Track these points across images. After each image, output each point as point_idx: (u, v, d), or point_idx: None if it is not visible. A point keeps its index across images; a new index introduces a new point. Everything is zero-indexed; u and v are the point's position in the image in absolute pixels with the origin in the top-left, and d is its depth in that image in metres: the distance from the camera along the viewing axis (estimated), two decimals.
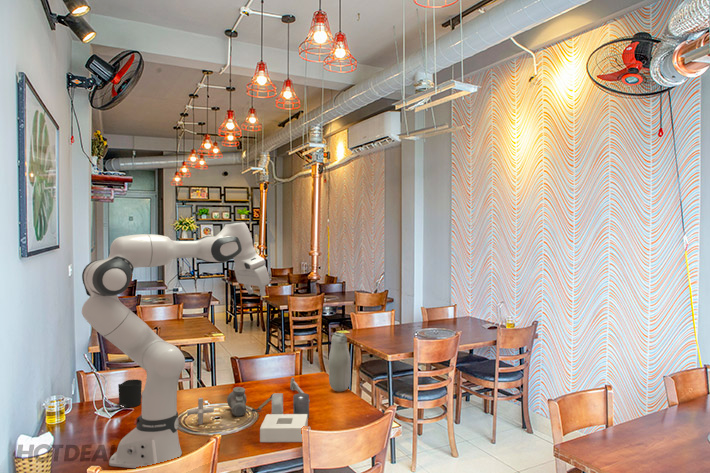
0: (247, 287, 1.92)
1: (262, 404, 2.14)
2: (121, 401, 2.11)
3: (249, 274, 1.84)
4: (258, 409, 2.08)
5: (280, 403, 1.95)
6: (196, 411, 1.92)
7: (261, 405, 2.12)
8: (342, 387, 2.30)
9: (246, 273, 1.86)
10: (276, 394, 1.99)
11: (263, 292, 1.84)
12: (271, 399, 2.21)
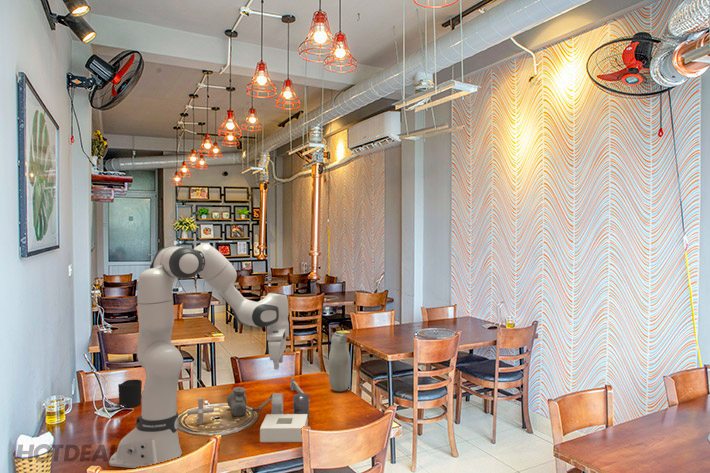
0: None
1: (262, 404, 2.14)
2: (121, 401, 2.11)
3: None
4: (258, 409, 2.09)
5: (280, 403, 1.95)
6: (196, 411, 1.92)
7: (261, 405, 2.13)
8: (342, 387, 2.30)
9: None
10: (276, 394, 1.99)
11: (276, 366, 1.91)
12: (271, 399, 2.22)
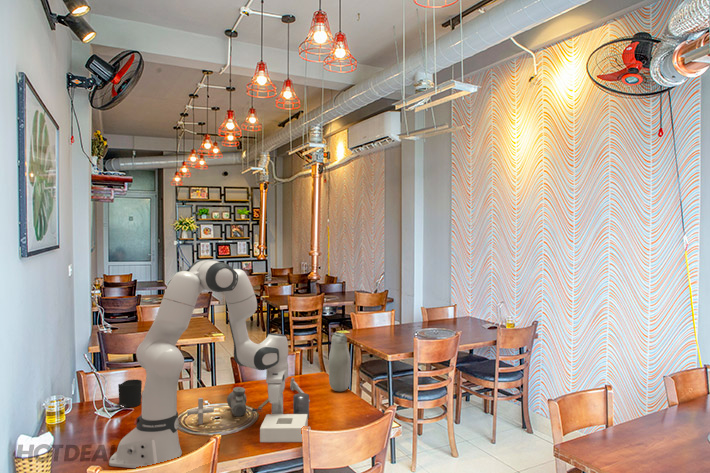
0: None
1: (262, 404, 2.14)
2: (121, 401, 2.11)
3: None
4: (258, 409, 2.09)
5: (280, 403, 1.95)
6: (196, 411, 1.92)
7: (261, 405, 2.13)
8: (342, 387, 2.30)
9: None
10: None
11: (276, 406, 1.94)
12: None
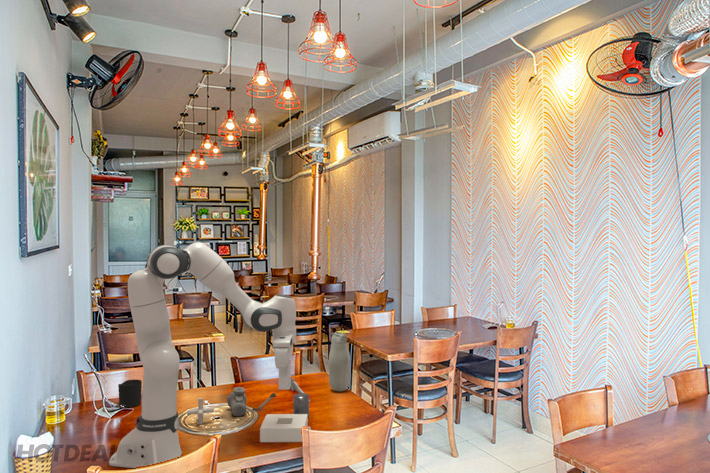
0: None
1: (262, 403, 2.15)
2: (121, 401, 2.11)
3: None
4: (259, 408, 2.09)
5: (288, 370, 1.80)
6: (196, 411, 1.92)
7: (261, 404, 2.13)
8: (342, 387, 2.30)
9: None
10: None
11: (283, 373, 1.79)
12: (271, 398, 2.22)
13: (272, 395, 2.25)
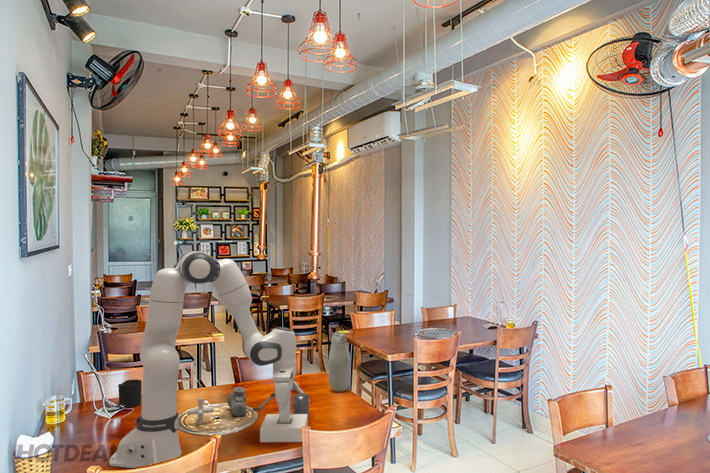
0: None
1: (262, 403, 2.15)
2: (121, 401, 2.11)
3: None
4: (259, 408, 2.09)
5: (288, 403, 1.81)
6: (196, 411, 1.92)
7: (261, 404, 2.13)
8: (342, 387, 2.30)
9: None
10: None
11: (283, 406, 1.79)
12: (271, 398, 2.22)
13: (272, 395, 2.26)
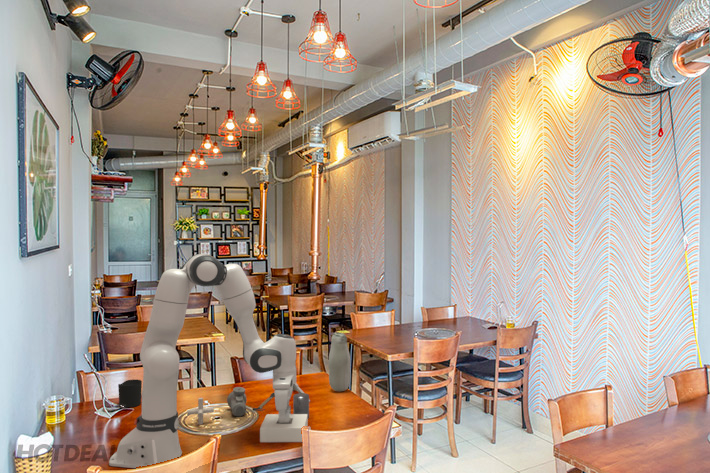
0: None
1: (263, 403, 2.15)
2: (121, 401, 2.11)
3: None
4: (259, 408, 2.10)
5: (288, 417, 1.80)
6: (196, 411, 1.92)
7: (262, 404, 2.14)
8: (342, 387, 2.30)
9: None
10: None
11: (282, 415, 1.77)
12: (271, 398, 2.23)
13: (272, 395, 2.26)
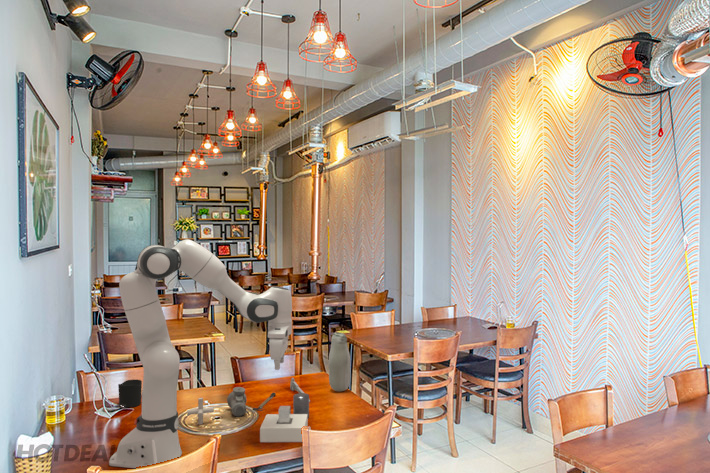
0: None
1: (263, 403, 2.15)
2: (121, 401, 2.11)
3: None
4: (259, 408, 2.10)
5: (288, 417, 1.80)
6: (196, 411, 1.92)
7: (262, 404, 2.14)
8: (342, 387, 2.30)
9: None
10: (284, 406, 1.84)
11: (277, 366, 1.77)
12: (271, 398, 2.23)
13: (272, 395, 2.26)
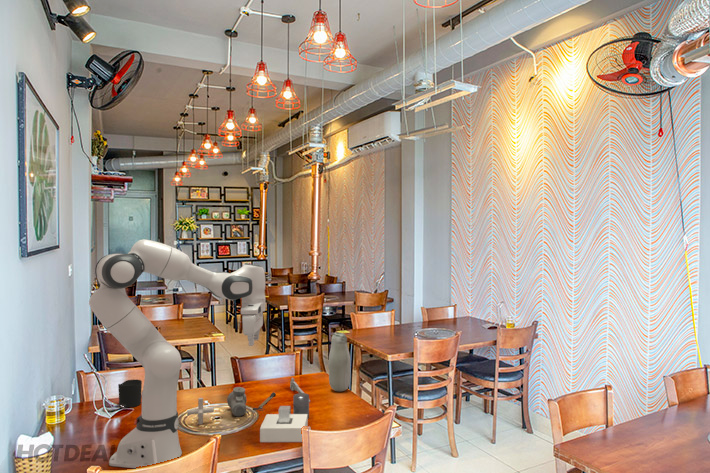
0: (255, 332, 1.90)
1: (263, 403, 2.15)
2: (121, 401, 2.11)
3: None
4: (259, 408, 2.10)
5: (288, 417, 1.80)
6: (196, 411, 1.92)
7: (262, 404, 2.14)
8: (342, 387, 2.30)
9: None
10: (284, 406, 1.84)
11: (251, 342, 1.79)
12: (271, 398, 2.23)
13: (272, 394, 2.26)
